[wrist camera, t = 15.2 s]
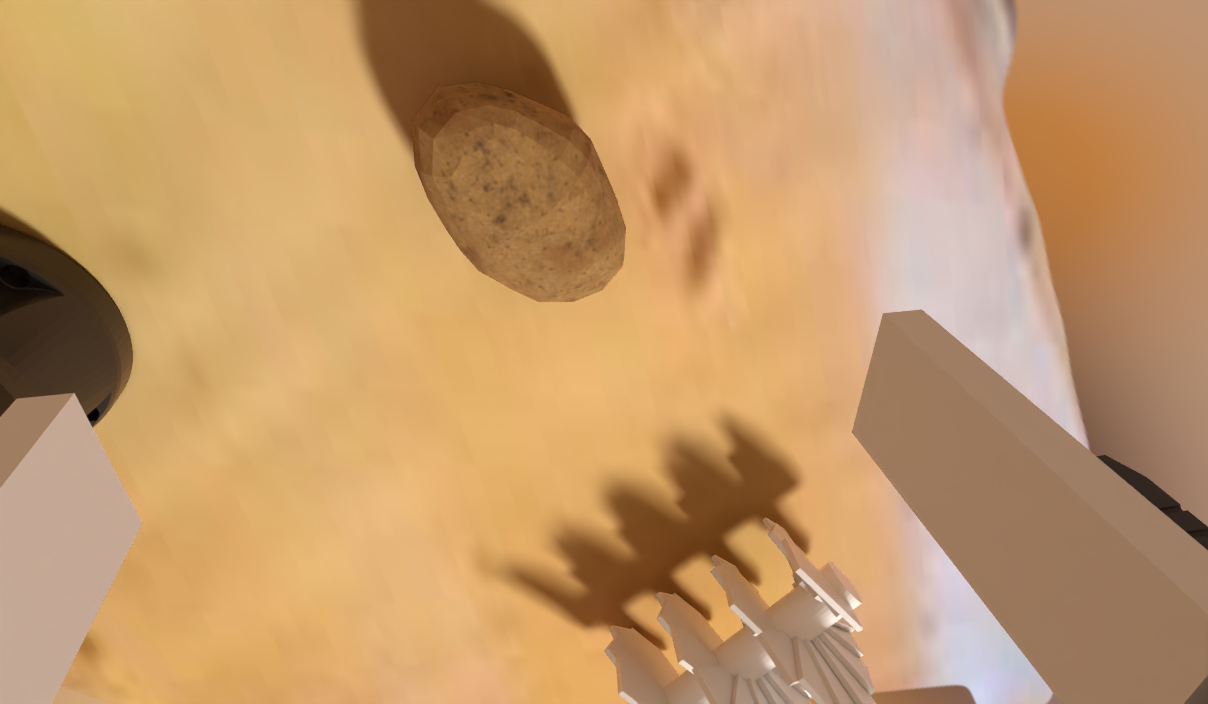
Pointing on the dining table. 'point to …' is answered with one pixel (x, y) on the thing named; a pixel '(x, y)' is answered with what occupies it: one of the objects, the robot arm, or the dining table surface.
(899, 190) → the dining table surface
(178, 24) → the dining table surface
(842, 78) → the dining table surface
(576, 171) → the potato
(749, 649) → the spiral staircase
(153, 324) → the dining table surface
